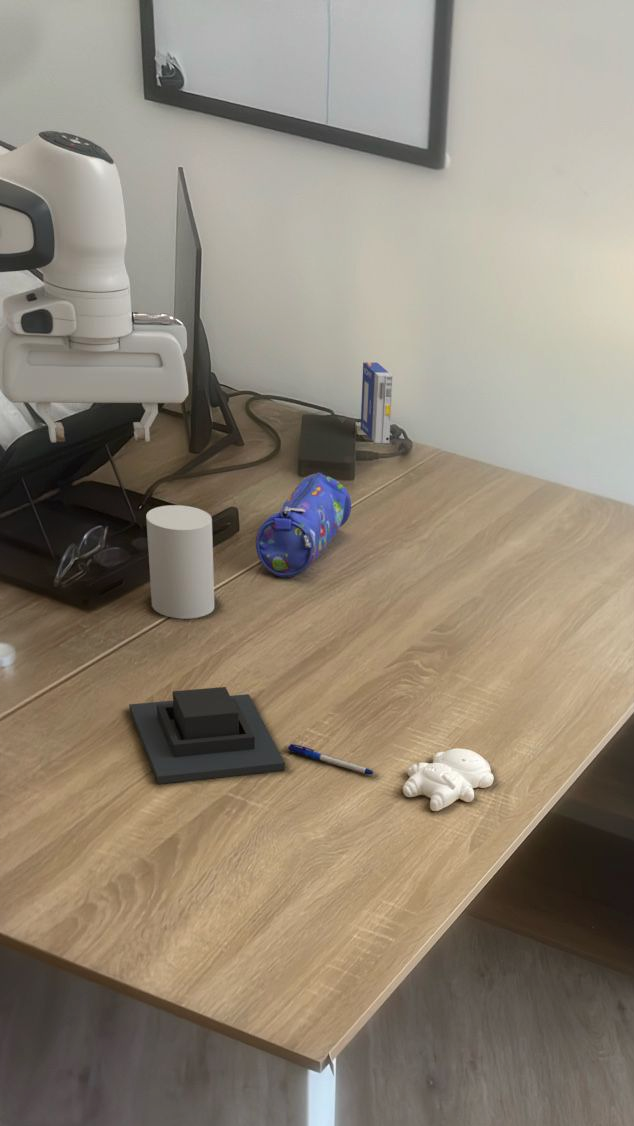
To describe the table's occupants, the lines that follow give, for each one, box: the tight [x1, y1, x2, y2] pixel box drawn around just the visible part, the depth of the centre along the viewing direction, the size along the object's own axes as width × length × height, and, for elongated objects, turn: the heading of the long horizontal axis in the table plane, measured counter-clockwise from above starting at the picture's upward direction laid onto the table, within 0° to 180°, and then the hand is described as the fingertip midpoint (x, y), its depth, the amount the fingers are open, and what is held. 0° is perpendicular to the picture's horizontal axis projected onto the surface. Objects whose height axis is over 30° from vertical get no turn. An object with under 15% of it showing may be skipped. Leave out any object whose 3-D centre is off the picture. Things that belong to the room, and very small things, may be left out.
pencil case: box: [255, 472, 352, 579], centre depth 186 cm, size 22×9×10 cm, turn 171°
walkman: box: [360, 361, 394, 444], centre depth 230 cm, size 8×3×12 cm, turn 27°
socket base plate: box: [128, 693, 286, 785], centre depth 145 cm, size 14×16×3 cm
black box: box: [172, 686, 239, 740], centre depth 144 cm, size 6×6×4 cm
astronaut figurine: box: [402, 748, 495, 812], centre depth 144 cm, size 9×12×3 cm
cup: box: [145, 504, 215, 620], centre depth 167 cm, size 8×8×12 cm
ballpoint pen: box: [287, 743, 374, 775], centre depth 145 cm, size 10×1×1 cm, turn 73°
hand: (100, 440), depth 147 cm, fingers open, 8 cm apart
